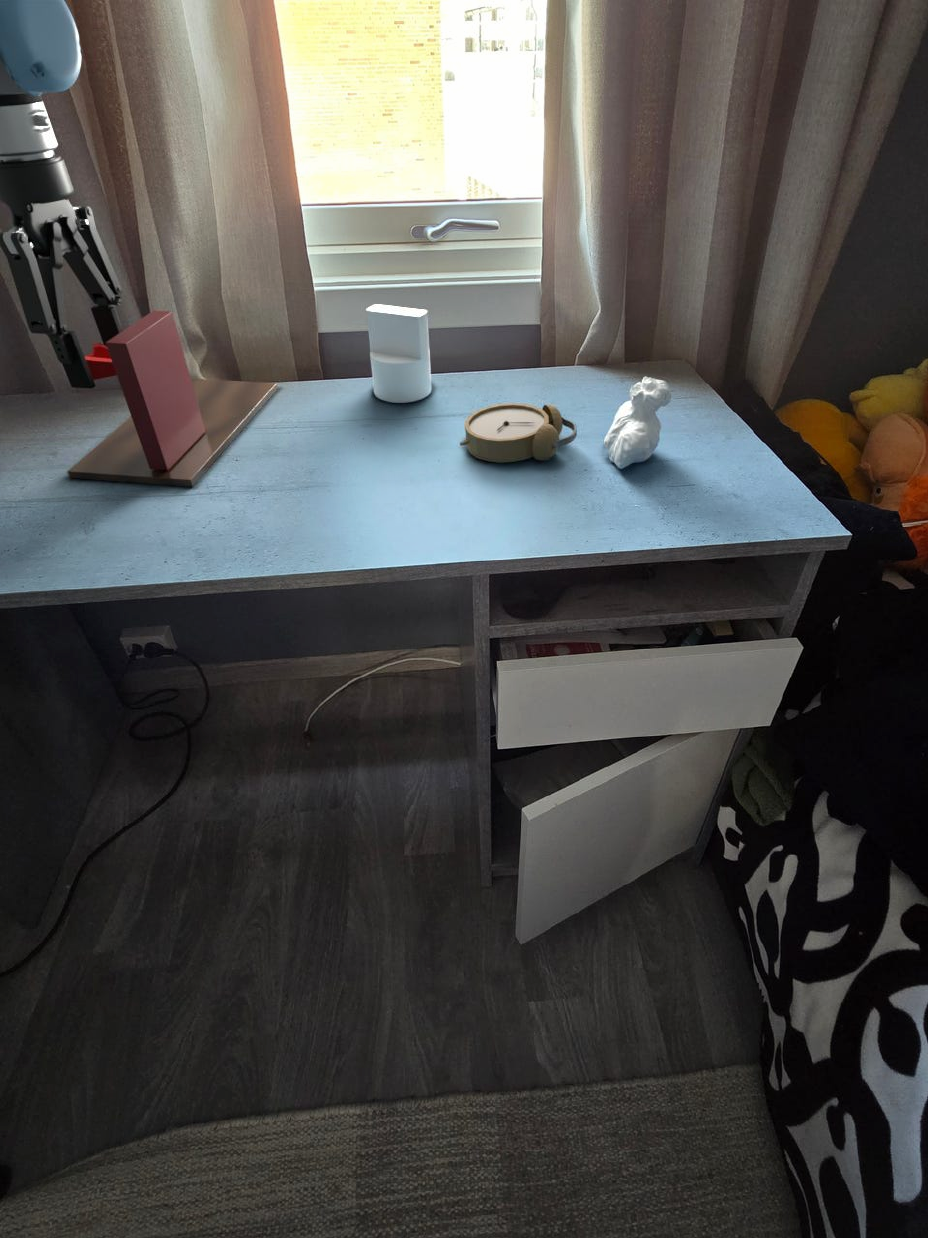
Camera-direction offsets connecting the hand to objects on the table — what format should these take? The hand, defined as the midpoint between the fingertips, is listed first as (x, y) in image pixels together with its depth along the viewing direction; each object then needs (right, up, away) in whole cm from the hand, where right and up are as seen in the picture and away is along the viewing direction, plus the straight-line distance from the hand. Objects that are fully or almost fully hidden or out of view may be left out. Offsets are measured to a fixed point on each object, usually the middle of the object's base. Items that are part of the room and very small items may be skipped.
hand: (102, 372), depth 86 cm
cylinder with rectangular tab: (+36, +5, +22) cm, 42 cm away
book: (+7, -8, +6) cm, 12 cm away
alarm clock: (+53, -8, +7) cm, 54 cm away
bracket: (0, 0, 0) cm, 0 cm away
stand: (+5, -4, +13) cm, 14 cm away
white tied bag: (+67, -9, +5) cm, 68 cm away
